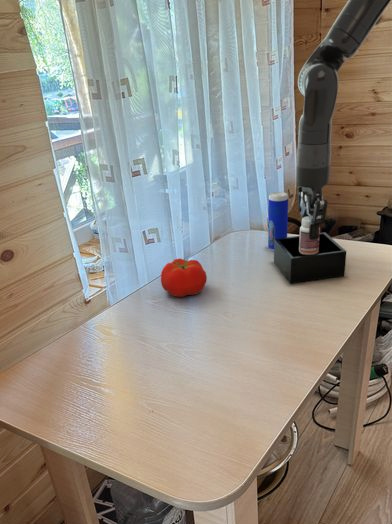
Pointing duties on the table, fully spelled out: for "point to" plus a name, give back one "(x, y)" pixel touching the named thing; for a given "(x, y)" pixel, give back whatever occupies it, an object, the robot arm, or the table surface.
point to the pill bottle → (307, 239)
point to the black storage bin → (309, 260)
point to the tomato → (183, 277)
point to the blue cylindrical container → (277, 217)
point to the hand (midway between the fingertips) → (309, 234)
